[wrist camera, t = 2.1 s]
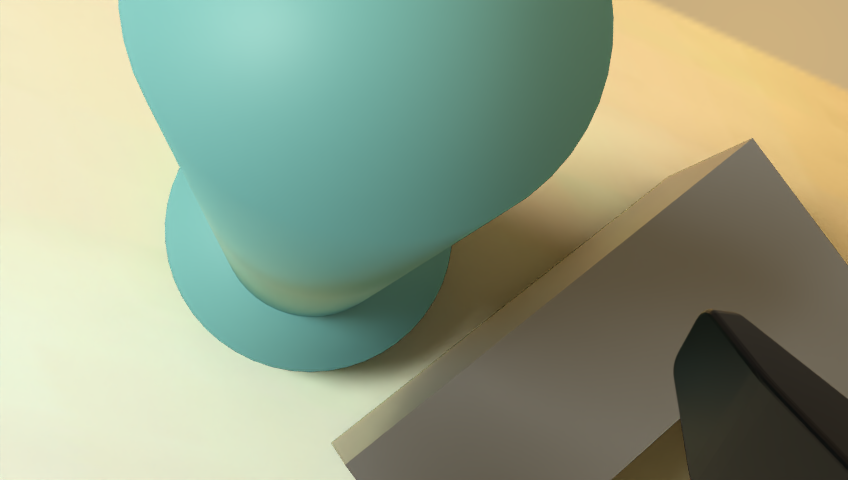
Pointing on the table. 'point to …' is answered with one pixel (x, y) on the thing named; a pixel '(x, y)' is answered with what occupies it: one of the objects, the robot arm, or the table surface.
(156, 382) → the table surface
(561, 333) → the keyhole plate
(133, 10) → the peg
